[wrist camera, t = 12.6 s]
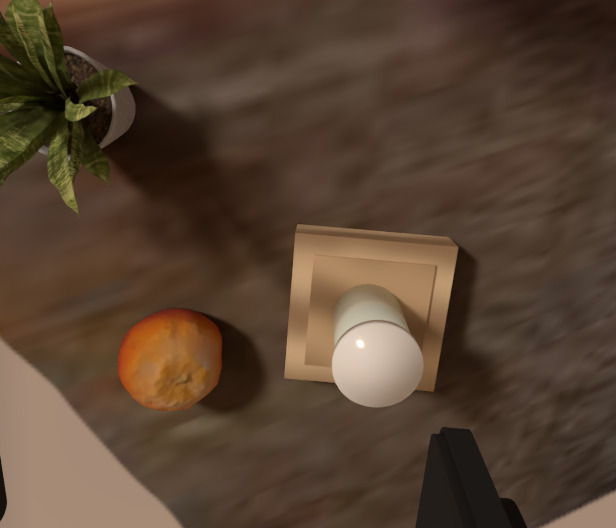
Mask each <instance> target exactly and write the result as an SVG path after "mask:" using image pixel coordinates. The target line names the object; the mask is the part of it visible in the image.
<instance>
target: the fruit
mask: <svg viewBox="0 0 616 528" xmlns="http://www.w3.org/2000/svg"><path fill="white" fill-rule="evenodd" d="M221 369H222V336H221V334H220V331H219V329H218V327H217V326H216V325H215V324H214V323H213V322H212V321H211V320H210V319H208V318H207V317H206V316H205V315H203V314H201V313H199V312H197V311H193V310H190V309H183V308H176V307H175V308H167V309H164V310H160V311H158V312H155V313H154V312H153V313H152V314H151V315H149V316H147V317H146V318H144V319H143V320H141V321H140V322H139V323H137V324H136V325H135V326H133V327H132V328H131V329H130V330H129V331H128V333H127V334H126V336H125V337H124V339H123V341H122V344H121V347H120V351H119V357H118V371H119V375H120V379H121V381H122V384H123V386H124V387H125V389H126V390H127V391H128V392H129V393H130V394H131V396H132V397H133V398H134V399H135V400H136V401H138V402H139V403H140V404H141V405H143V406H145V407H149V408H152V409H155V410H158V411H176V410H186V409H188V408H190V407H191V406H193V405H194V404H195V403H197V402H198V401H200V400H201V399H202V398H204V397H205V396H206V395H207V394H209V393H210V392H211V390H212V389H213V388H214V387H215V386H216V385H217V384H218V382H219V376H220V373H221Z"/></svg>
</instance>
